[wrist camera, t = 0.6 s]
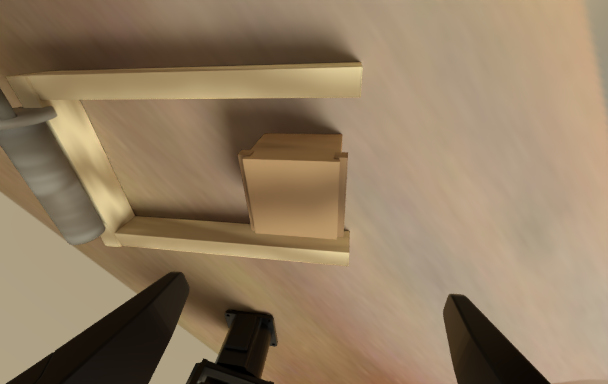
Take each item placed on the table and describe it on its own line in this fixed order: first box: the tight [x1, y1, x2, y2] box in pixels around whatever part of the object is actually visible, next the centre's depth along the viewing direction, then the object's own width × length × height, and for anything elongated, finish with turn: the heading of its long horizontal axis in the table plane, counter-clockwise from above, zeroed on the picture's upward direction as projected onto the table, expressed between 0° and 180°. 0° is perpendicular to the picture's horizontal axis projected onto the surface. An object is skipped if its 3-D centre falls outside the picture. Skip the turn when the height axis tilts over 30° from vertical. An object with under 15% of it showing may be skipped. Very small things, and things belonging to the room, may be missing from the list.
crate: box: [238, 133, 348, 240], centre depth 19 cm, size 6×7×5 cm
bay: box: [0, 62, 363, 266], centre depth 20 cm, size 16×25×7 cm, turn 92°
